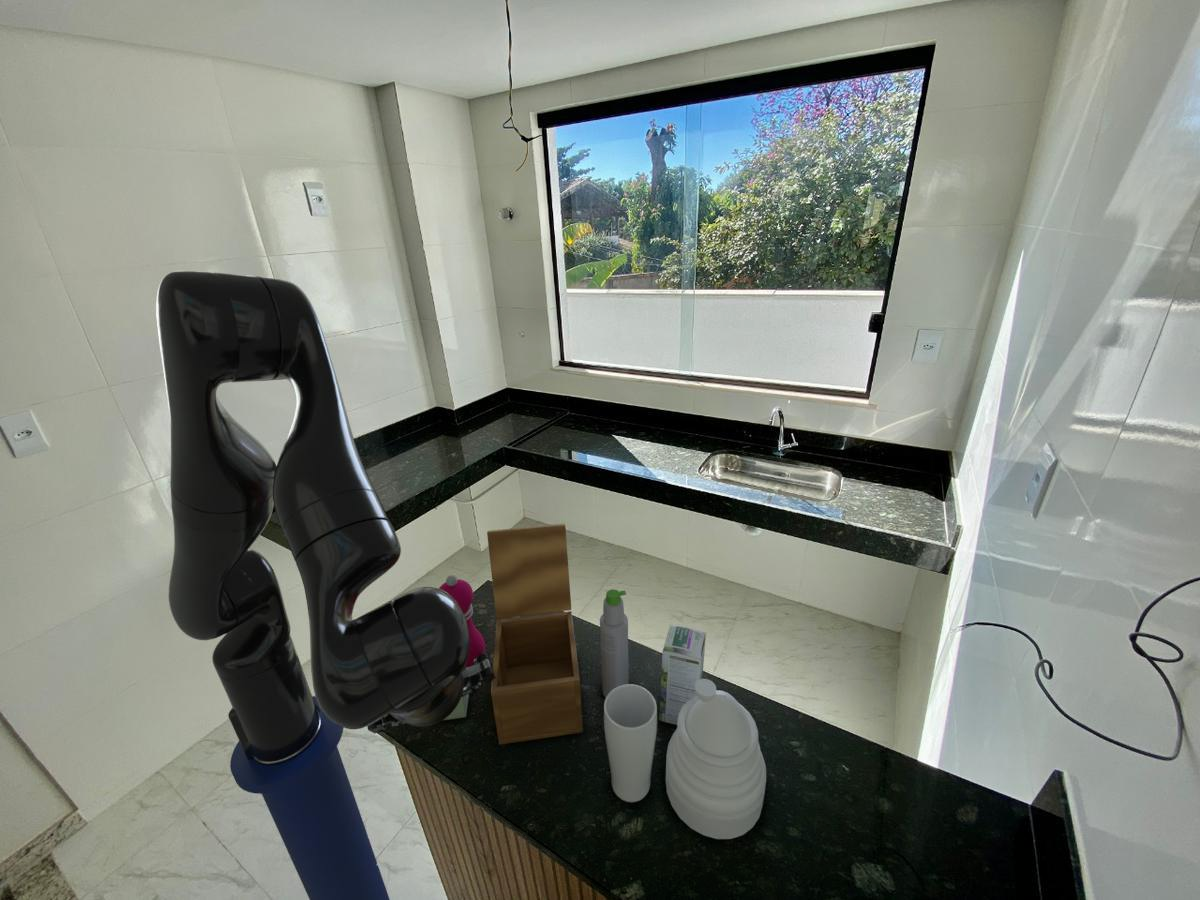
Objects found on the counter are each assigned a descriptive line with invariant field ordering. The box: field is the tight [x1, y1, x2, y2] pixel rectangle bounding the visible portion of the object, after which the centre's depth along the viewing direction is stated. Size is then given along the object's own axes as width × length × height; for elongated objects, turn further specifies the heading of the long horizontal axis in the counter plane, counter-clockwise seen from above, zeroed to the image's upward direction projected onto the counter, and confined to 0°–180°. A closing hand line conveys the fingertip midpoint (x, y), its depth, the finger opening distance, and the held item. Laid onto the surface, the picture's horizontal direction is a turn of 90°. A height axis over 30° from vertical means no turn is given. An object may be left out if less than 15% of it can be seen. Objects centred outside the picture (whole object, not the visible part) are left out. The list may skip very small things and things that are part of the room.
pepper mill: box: [438, 574, 486, 667], centre depth 82 cm, size 7×7×20 cm
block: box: [443, 693, 470, 721], centre depth 77 cm, size 4×4×8 cm
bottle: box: [599, 588, 630, 699], centre depth 77 cm, size 4×4×20 cm
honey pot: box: [665, 678, 767, 840], centre depth 62 cm, size 13×13×18 cm
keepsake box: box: [490, 610, 584, 745], centre depth 78 cm, size 15×13×11 cm
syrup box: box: [658, 624, 707, 726], centre depth 74 cm, size 6×6×14 cm
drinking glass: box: [603, 683, 658, 803], centre depth 63 cm, size 7×7×15 cm
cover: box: [486, 523, 572, 620], centre depth 80 cm, size 15×13×1 cm
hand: (439, 698), depth 62 cm, fingers open, 8 cm apart
